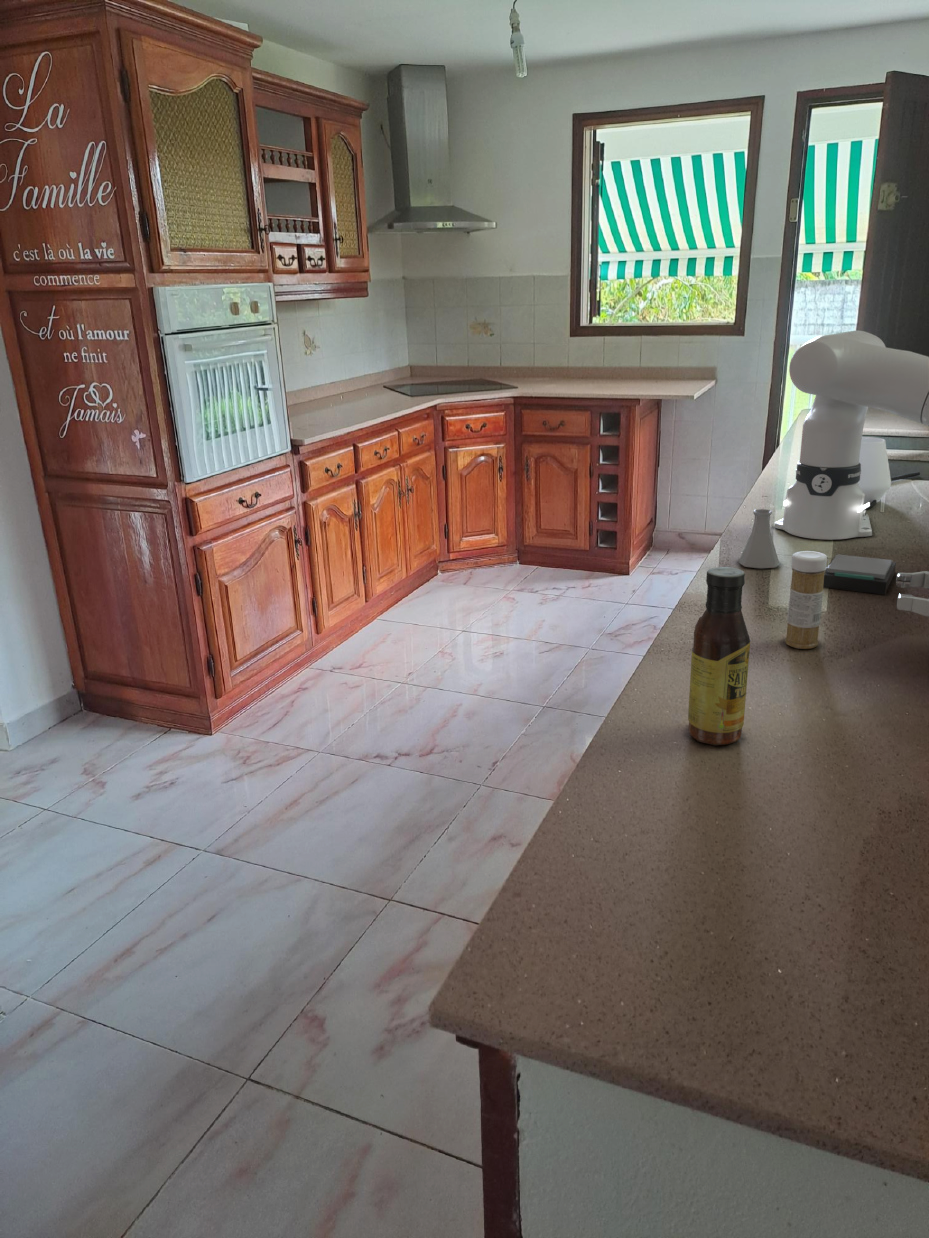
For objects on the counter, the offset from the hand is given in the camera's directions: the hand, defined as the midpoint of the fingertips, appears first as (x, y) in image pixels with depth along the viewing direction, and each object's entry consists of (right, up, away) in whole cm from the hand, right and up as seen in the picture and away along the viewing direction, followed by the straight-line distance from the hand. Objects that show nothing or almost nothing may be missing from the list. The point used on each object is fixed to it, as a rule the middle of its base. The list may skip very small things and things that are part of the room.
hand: (896, 590), depth 119 cm
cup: (+33, +24, +86) cm, 95 cm away
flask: (-4, +6, +44) cm, 44 cm away
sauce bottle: (-29, -18, -16) cm, 37 cm away
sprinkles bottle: (-10, -8, +8) cm, 15 cm away
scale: (+9, +3, +33) cm, 34 cm away
